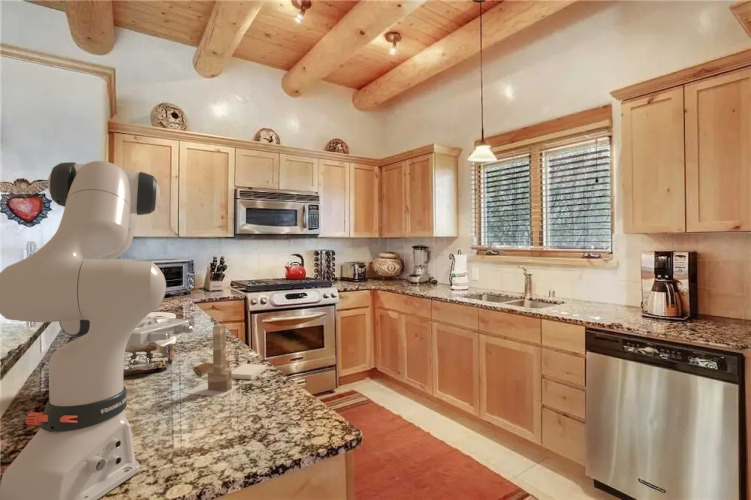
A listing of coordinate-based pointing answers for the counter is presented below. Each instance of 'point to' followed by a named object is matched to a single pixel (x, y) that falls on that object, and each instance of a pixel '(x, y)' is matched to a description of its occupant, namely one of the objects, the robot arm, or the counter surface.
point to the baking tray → (157, 353)
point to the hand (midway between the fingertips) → (180, 332)
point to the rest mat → (204, 390)
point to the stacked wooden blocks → (219, 362)
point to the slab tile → (248, 371)
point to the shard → (203, 368)
